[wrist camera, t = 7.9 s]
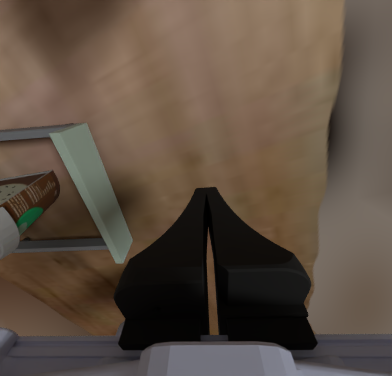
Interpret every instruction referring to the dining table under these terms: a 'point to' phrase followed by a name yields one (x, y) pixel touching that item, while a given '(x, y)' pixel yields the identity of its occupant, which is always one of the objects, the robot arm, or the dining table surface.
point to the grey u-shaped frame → (81, 190)
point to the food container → (23, 205)
